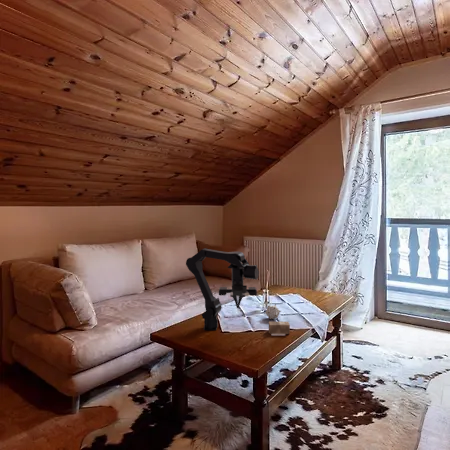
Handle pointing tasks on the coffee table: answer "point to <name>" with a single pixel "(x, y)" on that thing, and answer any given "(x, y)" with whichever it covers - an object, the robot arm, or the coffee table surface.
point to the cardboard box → (279, 328)
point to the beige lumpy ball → (272, 312)
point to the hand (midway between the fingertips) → (237, 307)
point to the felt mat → (278, 334)
